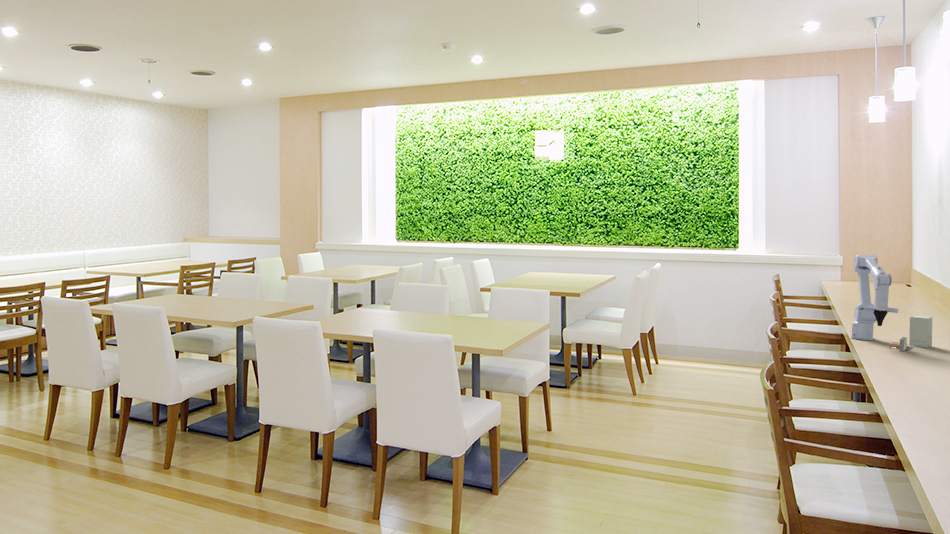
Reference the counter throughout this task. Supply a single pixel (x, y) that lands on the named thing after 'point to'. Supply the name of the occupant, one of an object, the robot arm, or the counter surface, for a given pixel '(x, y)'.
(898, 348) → the rubber mat
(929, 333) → the skincare box
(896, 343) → the terracotta tile
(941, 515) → the counter surface
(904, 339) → the slate tile
